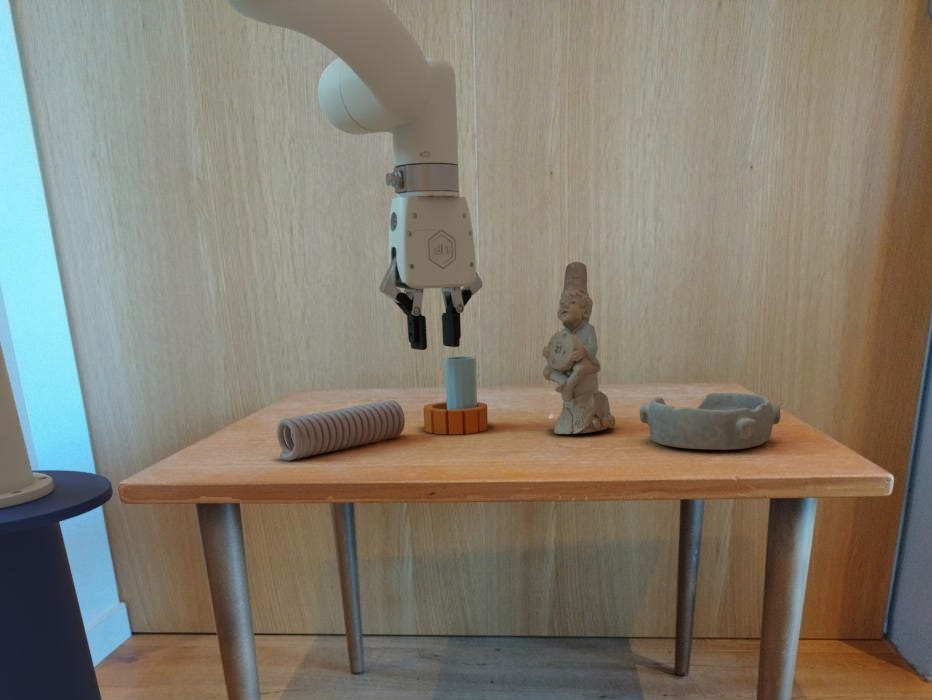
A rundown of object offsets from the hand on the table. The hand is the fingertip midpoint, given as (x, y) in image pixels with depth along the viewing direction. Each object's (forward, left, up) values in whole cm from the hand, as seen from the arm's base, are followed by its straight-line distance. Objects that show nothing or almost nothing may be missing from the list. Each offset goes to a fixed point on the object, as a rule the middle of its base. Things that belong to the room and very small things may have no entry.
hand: (435, 346), depth 108 cm
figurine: (+14, -12, -11) cm, 21 cm away
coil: (-14, -2, -11) cm, 18 cm away
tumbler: (+4, 0, -11) cm, 11 cm away
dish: (+21, -28, -11) cm, 37 cm away
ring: (+3, 0, -11) cm, 11 cm away
